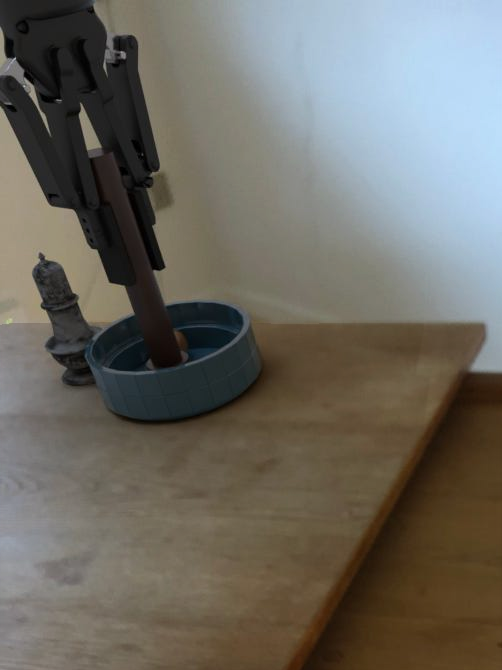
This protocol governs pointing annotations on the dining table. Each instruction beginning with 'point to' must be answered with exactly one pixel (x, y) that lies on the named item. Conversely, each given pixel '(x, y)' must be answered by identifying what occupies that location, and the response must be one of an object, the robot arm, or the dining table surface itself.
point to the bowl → (180, 381)
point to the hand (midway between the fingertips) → (137, 274)
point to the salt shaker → (64, 322)
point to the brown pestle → (137, 265)
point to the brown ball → (181, 341)
